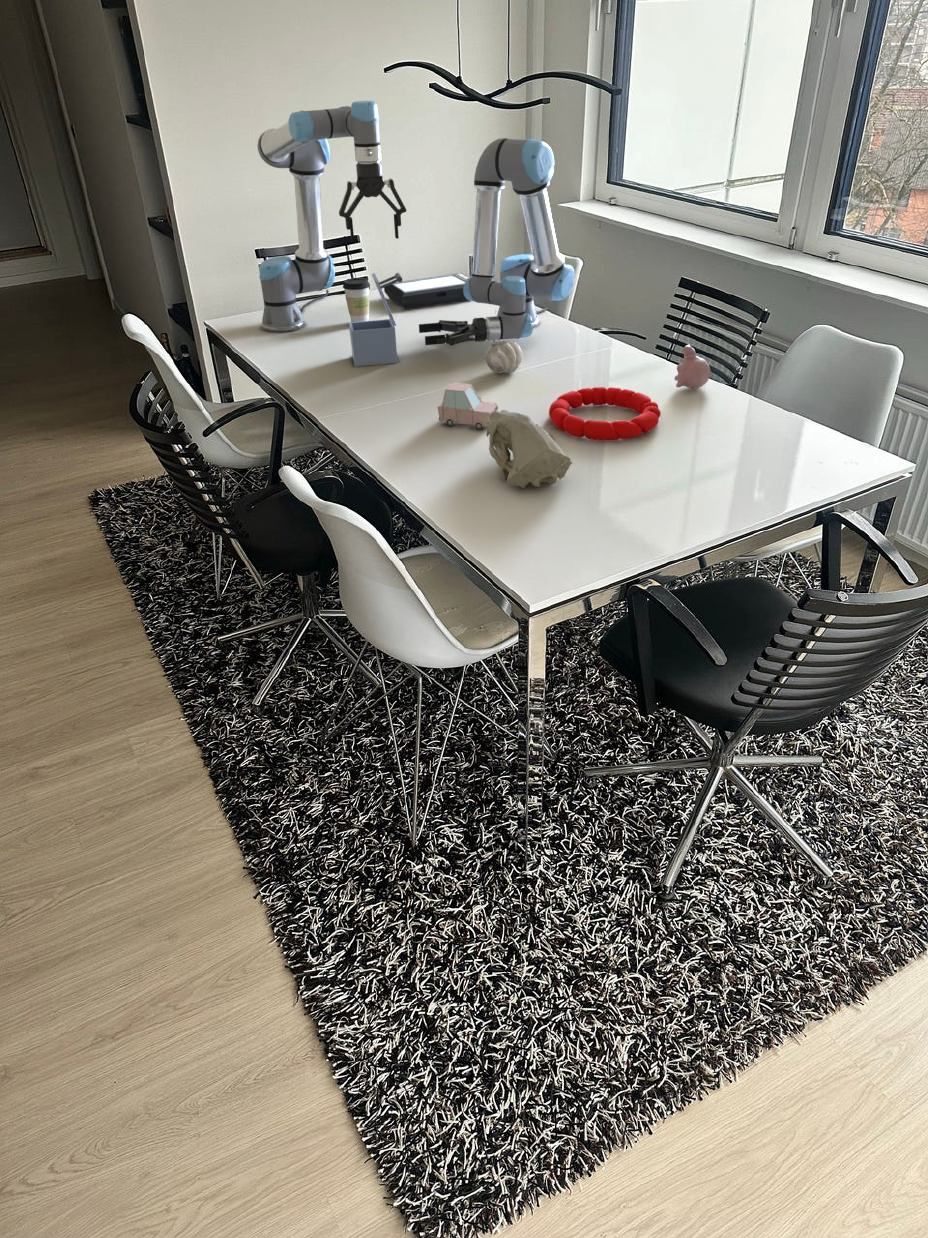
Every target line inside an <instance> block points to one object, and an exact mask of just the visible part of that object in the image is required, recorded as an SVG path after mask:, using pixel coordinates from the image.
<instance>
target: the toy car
mask: <svg viewBox="0 0 928 1238" xmlns="http://www.w3.org/2000/svg"><path fill="white" fill-rule="evenodd" d="M498 409H499V404H498V403H497V402H490V401H489V402H487V401H483V397H481V396H480V395H479V394H478V393H477V391H476V390H475V389H474V386H472V384H469V383H459V382H451V383H450V384H449V385H448V386H447V387H446V388H445V389H444V394H443V399H442V403H440V404H439V405H438V406H437V413H438V421H439V422H443V423H446V425H447V426H448V427H452V426H454V425H455V424H461V425H469V426H473V427H475V429H476V430H479V431H480V430H481V429H483V428H485V427H486V428H487V423H488V422H490V414H491V413H492V412H496V411H499V410H498Z"/></svg>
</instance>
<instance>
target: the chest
mask: <svg viewBox="0 0 928 1238" xmlns="http://www.w3.org/2000/svg"><path fill="white" fill-rule="evenodd" d="M348 327H349V328H348V329H349V337H350V338H349V339H350V346H351V348H350V349H351V356H352V361H353V365H354V367H364V366H365V367H366V366H377V365H387V364H397V363H398V352H397V351H398V350H397V337H396V326H394V327H393V324H392V322H391V320H390V318H386V319H375V320H374V319H373V320H368V321H361V322H351V321H350V322H348Z"/></svg>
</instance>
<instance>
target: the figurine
mask: <svg viewBox="0 0 928 1238" xmlns="http://www.w3.org/2000/svg"><path fill="white" fill-rule="evenodd" d="M682 354H683V358H684V359H683V361H682V362H679V363H678V364H677V365H676V372H677V375H675V376H674V381H675V382H676V381H677V382H676V384H675V386H676V388H681V387H686V388H688V389H693V390H694V389H695V390H696V389H700V388H703V387H704V386H705V385H706V384H707V383H708V382H709V379H710V377H711V367H710V364H709V362H708V361H706V359H704V358H702V357H700V356H697V353H696V350H695V349H694V347H692V345H690V344H686V345H685V346H684V347H683V348H682Z"/></svg>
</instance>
